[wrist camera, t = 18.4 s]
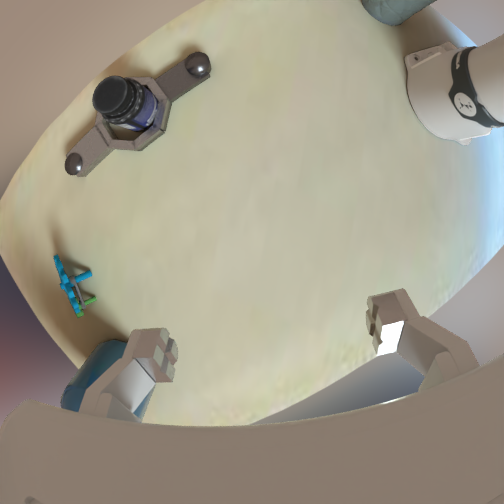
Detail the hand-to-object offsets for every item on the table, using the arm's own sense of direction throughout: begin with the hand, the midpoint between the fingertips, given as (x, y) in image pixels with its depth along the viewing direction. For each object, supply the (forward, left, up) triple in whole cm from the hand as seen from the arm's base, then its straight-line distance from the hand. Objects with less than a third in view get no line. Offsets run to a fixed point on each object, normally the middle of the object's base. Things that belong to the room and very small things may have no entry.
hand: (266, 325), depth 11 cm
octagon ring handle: (+2, -23, -29) cm, 37 cm away
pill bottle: (+1, -23, -29) cm, 37 cm away
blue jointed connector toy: (+28, -13, -30) cm, 43 cm away
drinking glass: (-43, -13, -30) cm, 54 cm away
